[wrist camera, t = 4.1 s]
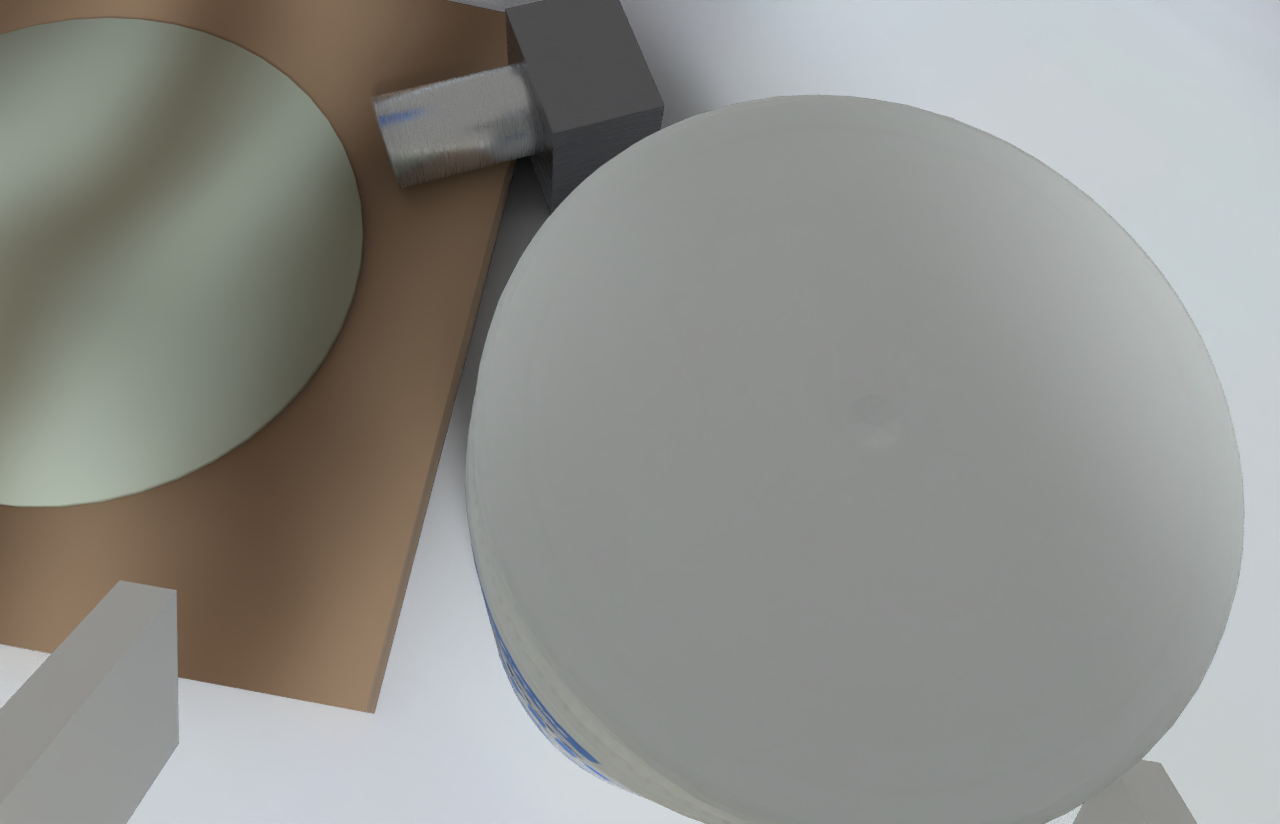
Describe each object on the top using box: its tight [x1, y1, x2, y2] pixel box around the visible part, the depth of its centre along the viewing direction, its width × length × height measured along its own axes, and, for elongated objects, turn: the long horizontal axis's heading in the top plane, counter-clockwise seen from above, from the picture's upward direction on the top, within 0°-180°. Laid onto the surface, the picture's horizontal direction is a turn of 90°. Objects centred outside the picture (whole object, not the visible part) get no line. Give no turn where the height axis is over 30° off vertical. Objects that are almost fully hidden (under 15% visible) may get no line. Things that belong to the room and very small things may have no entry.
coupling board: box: [0, 0, 517, 714], centre depth 26 cm, size 20×20×2 cm
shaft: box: [371, 0, 664, 214], centre depth 27 cm, size 7×4×4 cm, turn 110°
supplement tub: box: [465, 95, 1244, 824], centre depth 18 cm, size 10×10×15 cm
